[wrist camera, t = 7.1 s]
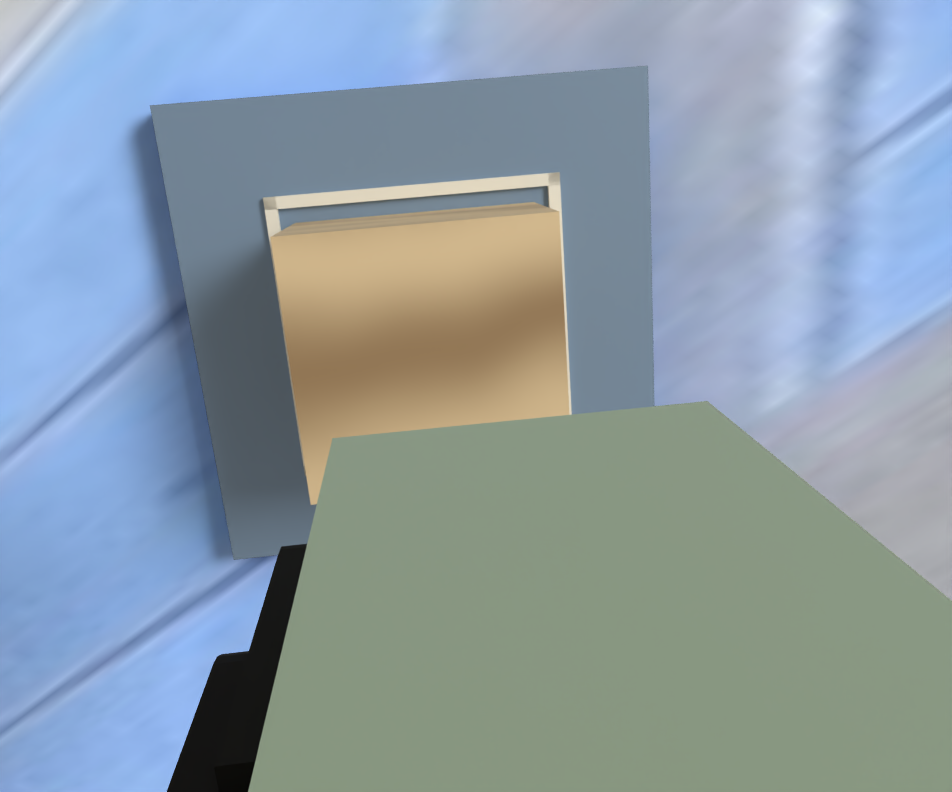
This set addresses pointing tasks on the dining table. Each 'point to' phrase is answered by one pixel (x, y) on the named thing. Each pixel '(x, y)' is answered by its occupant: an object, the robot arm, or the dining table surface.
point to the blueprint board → (395, 192)
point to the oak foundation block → (421, 322)
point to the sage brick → (600, 621)
